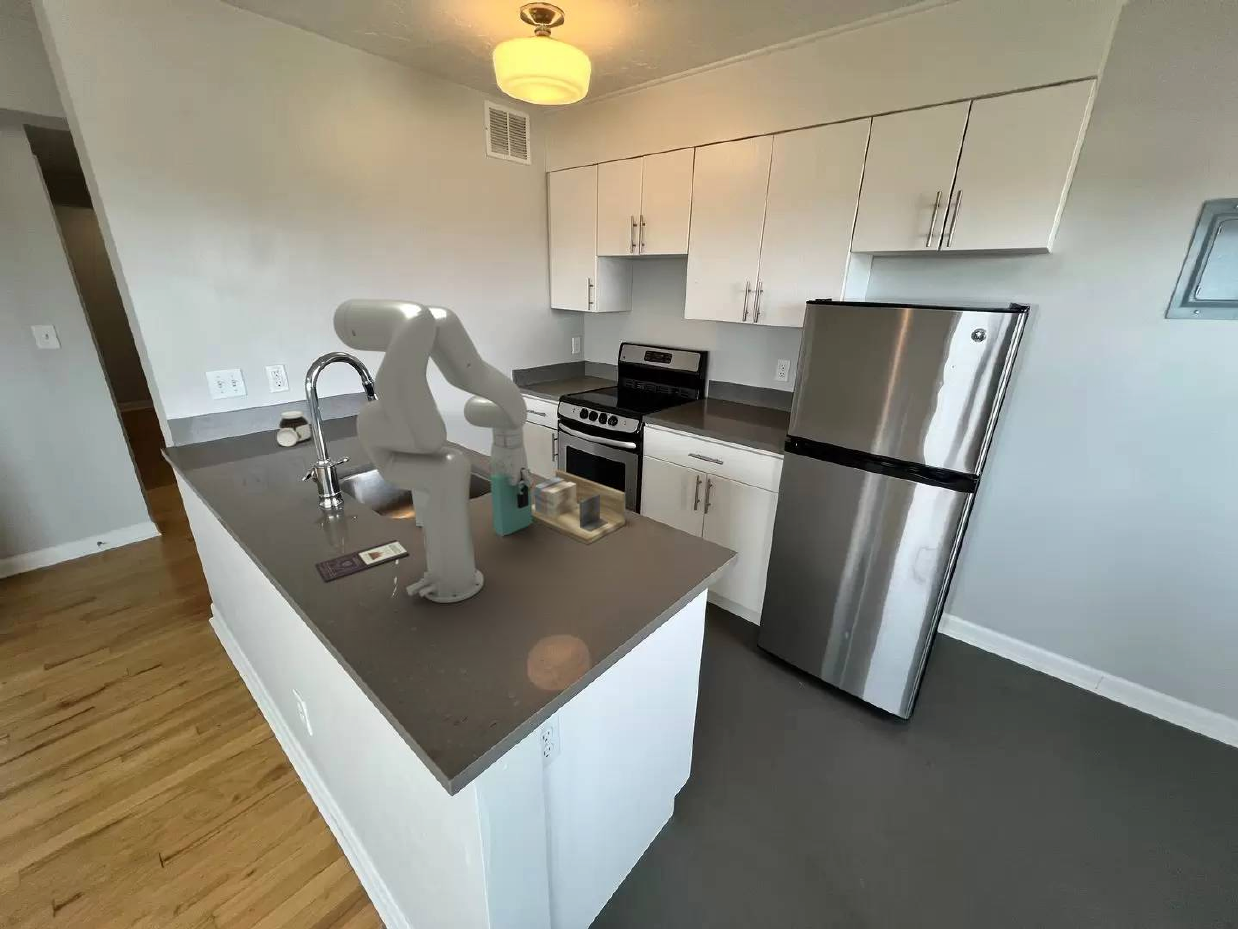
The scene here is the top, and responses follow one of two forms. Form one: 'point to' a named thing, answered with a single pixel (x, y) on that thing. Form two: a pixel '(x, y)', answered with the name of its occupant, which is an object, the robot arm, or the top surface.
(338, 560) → the chocolate bar
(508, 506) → the book
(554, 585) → the top surface
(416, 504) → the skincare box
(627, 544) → the top surface
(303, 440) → the spread jar
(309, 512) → the top surface
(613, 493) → the shelf
